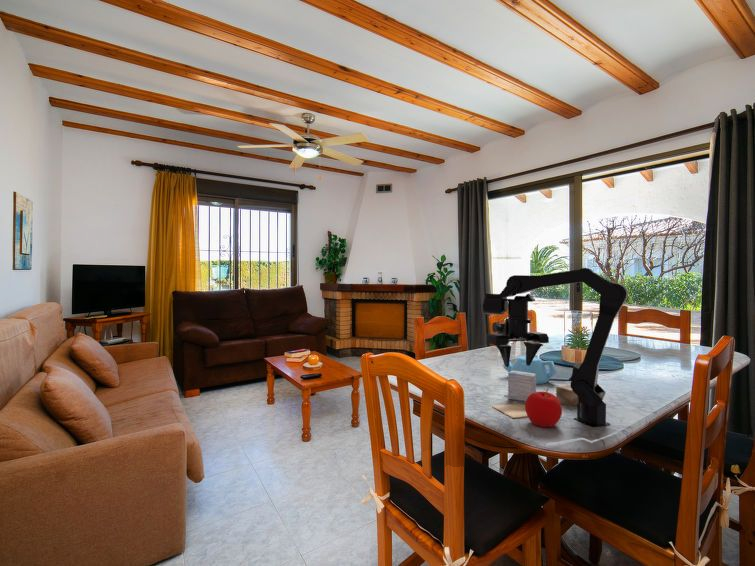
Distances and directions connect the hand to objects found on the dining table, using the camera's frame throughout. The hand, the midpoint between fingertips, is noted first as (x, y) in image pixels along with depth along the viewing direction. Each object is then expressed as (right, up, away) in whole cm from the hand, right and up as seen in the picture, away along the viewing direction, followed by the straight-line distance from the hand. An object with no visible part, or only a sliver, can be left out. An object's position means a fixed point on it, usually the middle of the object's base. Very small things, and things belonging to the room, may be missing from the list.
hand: (517, 366), depth 114 cm
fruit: (+2, -13, -14) cm, 19 cm away
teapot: (+15, -13, +29) cm, 35 cm away
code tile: (+4, -12, +6) cm, 14 cm away
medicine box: (+4, -13, +6) cm, 14 cm away
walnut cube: (+17, -12, +3) cm, 22 cm away
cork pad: (-2, -13, -4) cm, 13 cm away
